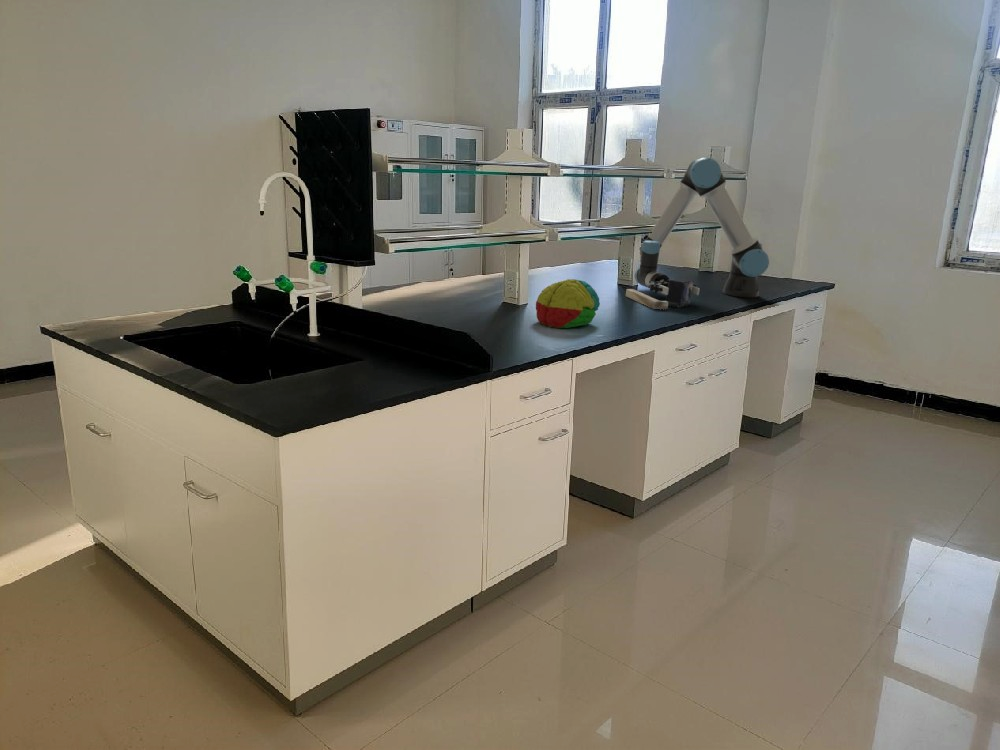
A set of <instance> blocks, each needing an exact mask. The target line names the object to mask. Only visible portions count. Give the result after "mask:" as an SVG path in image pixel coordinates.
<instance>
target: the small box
mask: <svg viewBox="0 0 1000 750" xmlns="http://www.w3.org/2000/svg"><path fill="white" fill-rule="evenodd" d="M694 281H695V280H694V279H690V278H685V277H680V276H679V277H676V278H672V279H670V278H669V285H668V288H669V290H668V295H666V300H665V301H667V302H668V307H671V306H672V308H676V307H677V309H681V307H682V308H685V307H688V305H689V306H691V300H692V294H693V293H692V289H693V285H694ZM684 306H685V307H684Z"/></svg>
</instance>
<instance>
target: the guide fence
mask: <svg viewBox="0 0 1000 750" xmlns="http://www.w3.org/2000/svg"><path fill="white" fill-rule="evenodd" d="M625 297H626V298H629V299H631V300H633V301H634V302H637V303H640V304H642V305H643V304H644V306H645V305H646V307H647V306H648V307H647V308H649V309H652V310H654V309H660V310H659V311H662V310H661V309H663V310H664V309H665V310H664V311H667V310H668V308H669V306H668V302H667V301H666V300H659V299H656V298H654V297H651V296H650V295H648V294H645V293H643V292H641V291H639V290H636V289H633V288H626V292H625ZM666 309H667V310H666Z"/></svg>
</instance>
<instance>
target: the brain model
mask: <svg viewBox="0 0 1000 750" xmlns="http://www.w3.org/2000/svg"><path fill="white" fill-rule="evenodd" d="M600 304H601V303H600V297H599V295H598V293H597V291H596V290H595V289H594V288H593V286H592V285H590V284H589V283H588V282H587V281H585V280H579V279H576V278H575V279H574V278H569V279H568V278H567V279H566V280H560V281H558V282H555V283H552V284H550V285H548V286H546V287H545V288H543V289H542V291H541V292H540V293H539V295H538V297H537V299H536V302H535V311H536V318H537V321H538V322H539V323H540V324H541V325H542V326H544V327H549V328H552V327H553V328H554V329H568V328H569V329H570V328H576V327H579V326H580V327H581V326H583V327H584V326H586V325H588V324H590V323H592V321H593V320H594V318H595V316H596V312H597V311H598V310H599V307H600Z"/></svg>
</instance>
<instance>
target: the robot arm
mask: <svg viewBox="0 0 1000 750" xmlns="http://www.w3.org/2000/svg"><path fill="white" fill-rule="evenodd" d="M726 183H727V181H726V179H725V177H724V175H723V172H722V168H721V166H720V163H718V162H717V160H715V159H714V158H712V157H707V156H705V157H703V156H702V157H699V158H695V159H694V160H693V161H692V162H691V163H690V164H689V165H688V167H687V170H686V171H685V173H684V175H683V177H682V179H681V180H680V181H679V185H680V186H679V188H678V189H677V191H676V192H675V194H674V195H673V197H672V198H671V200H670V202H669V203H668V205H667V206H666V208H665V209H664V211H662V212H663V213H661V215H660V217H659V218H658V220H657V222H656V223H655V224H654V226H653V228H652V229H651V231H652V233H651V234H650V233H649V234H648V235H647V237H646V239H645V240H643V241H642V243H641V245H640V246H641V247H640V246H639V250H640V252H639V255H640V261H639V268H638V269H636V271H635V273H634V280H635V282H636V283H637V284H639V285H641V286H642V287H645V288H648V289H649V291H650V292H654V294H658V293H660V294H662V295H666V296H667V295H668V290H669V288H668V285H669V280H670V278H669V276H668V275H667V274H664V273H661V272H659V271H658V264H659V257H660V251H661V248H662V247H663V245H664V243H665V241H666V240H667V239H668V237H669V236H670V234H671V233H672V231H673V229H674V228H675V227H676V225H677V223H679V220H680V219H681V217H682V216H683V214H684V213H685V212H686V211H687V209H688V207H689V205H690V204H691V202H692V201H693V200H694V198H695V196H698V195H699V197H701V198H704V199H705V200H706V202H707V204H708V205H709V207H710V210H711V211H712V213H713V215H714V217H715V218H716V220H717V222H718V224H719V225H720V228H721V229H722V230H721V231H722V232H723V233H724V235H725V236H726V239H727V240H728V242H729V244H730V246H731V251H730V254H731V255H732V257H731V264H730V271H729V276H728V278H727V279H726V282H725V284H724V286H723V289H722V293H723V294H725V295H728V296H733V297H738V296H739V297H738V298H757V297H759V293H760V290H759V284H758V277H759V276H761V275H763V274H764V273H765V272H766V271H767V270H768V268H769V265H770V259H769V255H768V254H767V253H766V251H765V250H764V249H763V244H762V243H760V242H759V240H758V238H755V237H753V236H752V235H751V233H750V231H749V229H748V228H747V226H746V224H745V223H744V220H743V219H742V217H741V215H740V213H739V211H738V209H737V207H736V205H735V203H734V202H733V200H732V198H731V196H730V194H729V193H728V191H727V188H726ZM639 250H638V251H639ZM692 294H693V295H696V296H699V295H700V287H697V285H696V284H693V289H692Z"/></svg>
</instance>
